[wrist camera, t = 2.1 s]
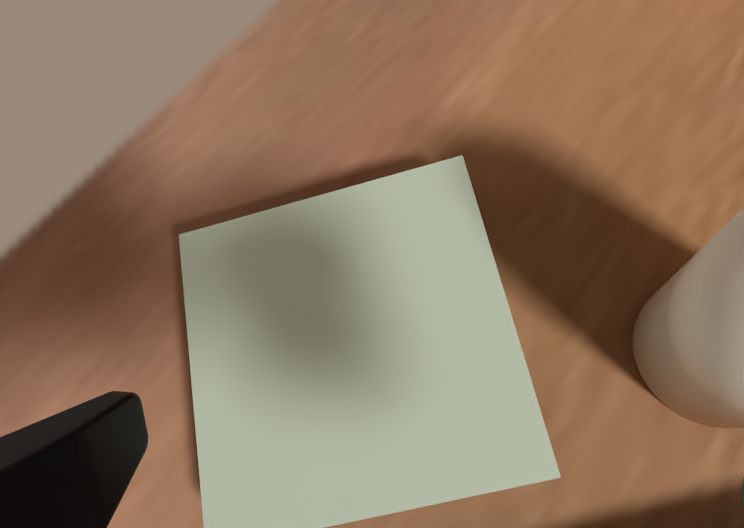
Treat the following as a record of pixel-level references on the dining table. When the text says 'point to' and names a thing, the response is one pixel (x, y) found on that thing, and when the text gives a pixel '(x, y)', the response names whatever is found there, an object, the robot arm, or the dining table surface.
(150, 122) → the dining table surface
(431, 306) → the plinth
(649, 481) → the dining table surface
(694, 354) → the pepper mill
